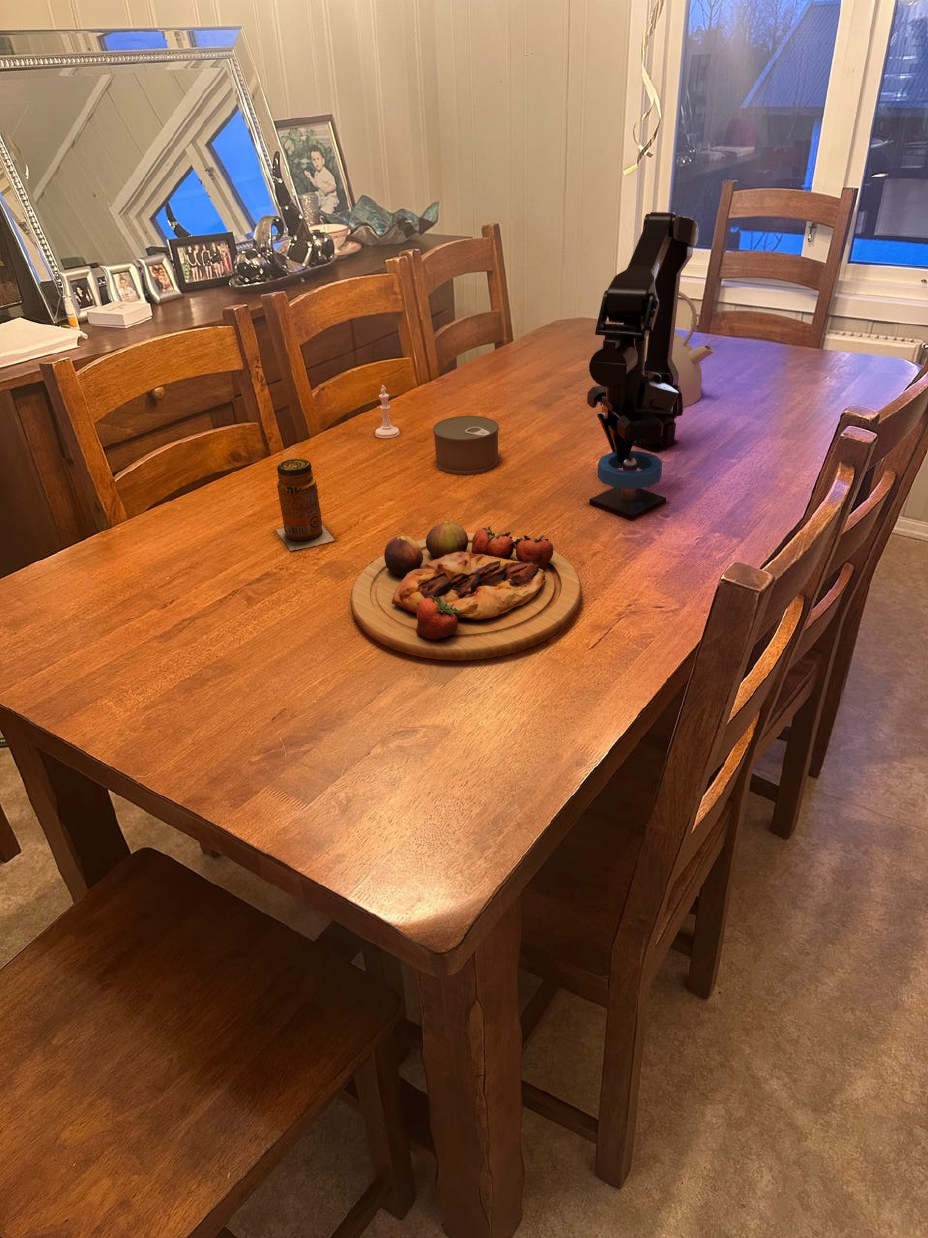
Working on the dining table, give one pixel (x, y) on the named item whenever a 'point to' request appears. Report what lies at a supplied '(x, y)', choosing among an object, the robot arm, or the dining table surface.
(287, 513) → the condiment
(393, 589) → the wooden plate
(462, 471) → the can
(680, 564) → the dining table surface
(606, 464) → the blue ring
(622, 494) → the peg stand
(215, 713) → the dining table surface
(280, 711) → the dining table surface
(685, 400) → the kettle
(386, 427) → the chess piece
